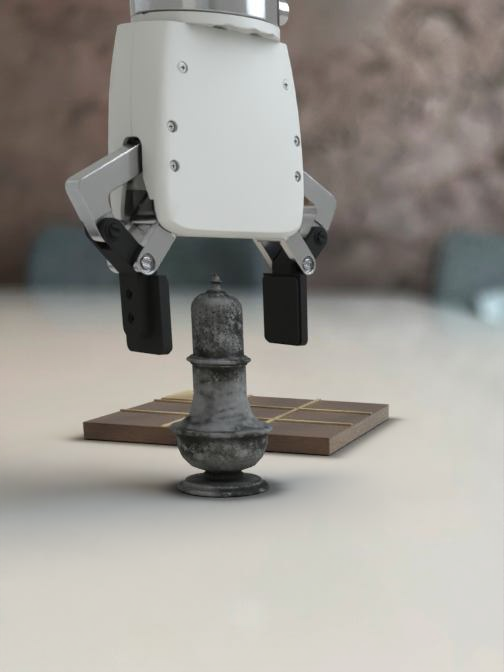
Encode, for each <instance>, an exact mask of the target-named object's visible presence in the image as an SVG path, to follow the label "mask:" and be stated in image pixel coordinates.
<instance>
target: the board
mask: <svg viewBox="0 0 504 672" xmlns="http://www.w3.org/2000/svg"><path fill="white" fill-rule="evenodd" d="M193 394H194V393H193V389H192V390H188V389H186V390H183V391H178V392H176V393H173V394H168V395H165V396H162V397H160V398H154V399H153V400H152V401H149V402H145V403H143V404H139V405H136V406H132V407H129V408H120V409H119V411H116V412H112V413H109V414H105V415H102V416H98V417H95V418H91V419H88V420H85V421H83V422H82V429H83V439H85V440H98V441H112V442H126V443H140V444H141V443H143V444H157V445H172V446H177V445H176V437H175V433H174V432H172V431H171V430H170V429H169V426H170V425H171V424H172V423H174V422H177V421H181V420H183V419H184V418H185V417H186V416H187V415H188V414H189V413H190V410H191V405H192V400H193ZM247 397H248V402H249V405H250V408H251V412H252V414H253V415H254V416H255V417H257V418H258V419H259V420H260V421H264V422H267V423H270V424H271V425H272V426H273V430H272V431H271V432H270V433H268V444H267V447H266V449H265V452H275V453H276V452H277V453H292V454H307V455H322V456H331V455H332V454H334V453H335V452H337V451H338V450H340V449H342V448H343V447H345V446H346V445H348V444H350V443H352V442H353V441H354V440H356V439H358V438H359V437H361V436H362V435H364V434H366V433H367V432H369V431H370V430H372V429H374V428H376V427H377V426H379V425H380V424H382V423H384V422H385V421H387V420H388V419H389V417H390V404H388V403H376V402H359V401H345V400H344V401H343V400H342V401H341V400H328V399H327V400H326V399H322V398H316V399H311V398H310V399H309V398H295V397H277V396H276V397H275V396H261V395H260V396H259V395H253V394H247Z"/></svg>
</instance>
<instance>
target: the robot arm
mask: <svg viewBox="0 0 504 672" xmlns="http://www.w3.org/2000/svg"><path fill="white" fill-rule="evenodd" d="M129 13H130V22H125V23H119V24H118V25H117V26H116V32H115V37H114V42H113V43H114V44H113V51H112V59H111V67H110V76H109V77H110V78H109V89H108V114H107V115H108V117H107V118H108V119H107V127H108V128H107V133H108V134H107V153H108V154H107V155H105V156H104V157H102V158H100V159H98V160H97V161H95V162H92V164H90V165H88V166H86V167H85V168H83V169H81V170H79V171H78V172H76V173H75V174H73V175H72V176H69V177H68V178H67V179H66V180H65V182H64V190H65V193H66V195H67V197H68V199H69V200H70V202H71V204H72V207H73V208H74V210H75V213H76V214H77V216H78V219H79V220H80V221H81V222H82V223H83V225H84V227H83V229H84V233H85V236H86V237H87V239H88V240H89V241H90V242H91V244H92V245H93V246H94V247H95V248H96V249H97V250H98V251H99V253H100V254H102V256H103V257H104V258H105V259H106V265H107V267H108V269H109V270H110V271H111V272H112V273H115V274H118V280H119V282H118V283H119V294H120V295H119V296H120V307H121V309H120V310H121V320H122V329H123V332H124V334H125V339H126V347H127V349H128V350H129V351H130V352H134V353H141V354H149V355H154V356H155V355H156V356H167V355H169V354H171V352H173V347H174V346H173V329H172V315H171V312H172V311H171V298H170V296H171V295H170V284H169V283H170V282H169V280H168V277H167V275H166V274H163V275H162V274H158V269H159V267H160V265H161V263H162V262H163V260H164V259H165V257H166V255H167V254H168V252H169V251H170V249H171V248H172V245H173V243H174V242H175V240H176V239H177V237H188V238H189V237H191V238H192V237H193V238H194V237H195V238H217V239H218V238H221V239H222V238H223V239H249V240H250V239H251V240H252V241H253V243H254V245H256V247H257V249H258V250H259V252H260V253H261V256H262V257H263V258H264V260H265V262H266V263H267V265H268V266H269V268H270V270H271V272H263V273H262V275H263V276H262V278H261V279H262V280H261V281H262V282H261V283H262V312H263V314H262V315H263V337H264V339H265V341H267V343H270V344H276V345H285V346H293V347H303V346H306V345H307V344H308V342H309V324H308V323H309V322H308V281H307V280H308V278H307V276H311V275H312V274H314V272H315V271H316V269H317V262H316V260H317V259H318V257H319V256H320V254H321V252H322V251H323V250H324V248H325V247H326V245H327V243H328V231H329V230H330V227H331V225H332V221H333V219H334V216H335V213H336V210H337V206H338V202H337V199H336V196H335V195H333V193H331V192H330V191H329V190H328V189H326V188H325V187H324V186H323V185H321V183H320V182H318V181H317V180H316V179H315V178H314V177H312V176H311V175H310V174H309V173H307V172H306V171H305V170H304V162H303V161H304V160H303V149H302V136H301V125H300V116H299V108H298V99H297V92H296V87H295V81H294V75H293V69H292V64H291V59H290V55H289V50H288V45H287V44H286V43H285V42H281V27H282V26H285V25H286V24H287V23H288V20H289V17H290V6H289V3H288V2H287V1H286V0H129Z"/></svg>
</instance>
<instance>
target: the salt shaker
mask: <svg viewBox="0 0 504 672" xmlns="http://www.w3.org/2000/svg"><path fill="white" fill-rule="evenodd" d="M210 279H211V280H209V283H210V284H211V288H208V289H206V291H205V292H204V291H203V292H201V293H199V294H197V295H196V296H195V297H194V298H193V300H192V301H191V305H190V323H191V339H192V340H191V342H192V353H191V354H190V355H187V356H186V357H185V360H186V361H187V362H188V363H190V364H191V370H192V371H191V373H192V391H193V393H194V394H193V400H192V405H191V410H190V413H189V414H188V415H187V416H186V417H185V418H184V419H183V420H181V421H177V422H174V423H172V424H171V425H170V426H169V429H170V430H171V431H172V432H174V433H175V437H176V445H175V446H176V447H177V449H178V451H179V453H180V455H181V457H182V458H183V459H184V460H185V461H186V462H187V463H188V465H190V466H191V467H193V468H194V469H195V468H196V469H199V470H201V471H203V472H198V473H197V472H196V473H193V474H190V475H188V476H186V477H185V478H184V479H183V480H181V481H179V483H178V484H177V488H178V490H179V491H181V492H183V493H186V494H190V495H194V496H202V497H218V498H219V497H221V498H222V497H224V498H225V497H242V496H250V495H251V496H252V495H256V494H260V493H263V492H267V490H269V489H270V483H269V482H268V481H267V480H266V479H264V478H262V477H261V476H260V475H258V474H255V473H250V472H245V471H244V470H247V469H249V468H252V467H254V466H256V465H257V464H258V463H259V462H260V461H261V459H262V458H263V457H264V455H265V452H266V451H265V449H266V447H267V444H268V433H270V432H271V431H272V430H273V426H272V425H271V424H270V423H267V422H264V421H260V420H259V419H258V418H257V417H255V416H254V415H253V414H252V412H251V408H250V405H249V402H248V397H247V395H248V394H247V393H248V390H247V389H248V387H247V386H248V385H247V365H248V364H249V363H251V362H252V358H250V357H249V356H247V355H245V343H244V342H245V341H244V340H245V339H244V312H243V306H242V302H241V301H240V300H239V298H237V297H236V296H235V295H233V294H231V293H229V292H226V290H225V289H223V288H221V283H222V282H223V280H221V279H220V277H219V275H218V273H213V275H212V276H211V278H210Z"/></svg>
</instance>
